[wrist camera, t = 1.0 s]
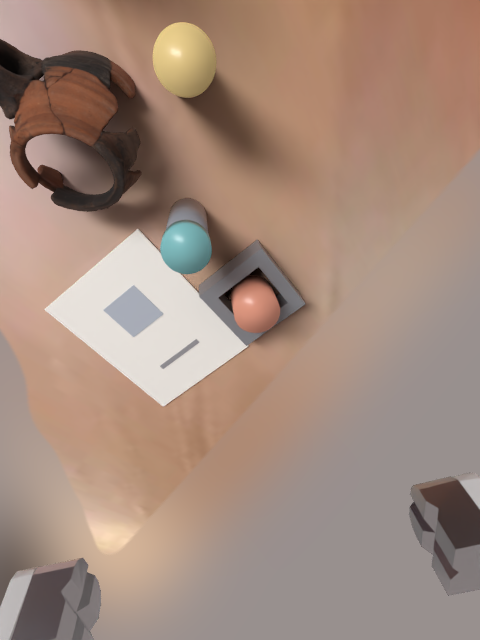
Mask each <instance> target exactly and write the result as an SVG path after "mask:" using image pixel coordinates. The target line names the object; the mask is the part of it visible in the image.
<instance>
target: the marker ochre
mask: <svg viewBox="0 0 480 640" xmlns="http://www.w3.org/2000/svg"><path fill="white" fill-rule="evenodd" d="M153 65H154V69H155V72H156V75H157V77H158V79H159V81H160V82H161V84H162V85H163V86H164V87H165V88H166V89H167V90H168V91H170V92H171V93H173V94H175V95H177V96H179V97H183V98H193V97H196V96H198V95H200V94H201V93H203V92H204V91H205V90H206V89H207V88H208V86H209V85H210V84H211V82H212V80H213V78H214V75H215V71H216V55H215V50H214V47H213V45H212V43H211V41H210V39H209V38H208V36H207V35H206V34H205V33H204V32H203V31H202V30H201V29H200V28H198V27H197V26H195V25H193V24H190V23H185V22H179V23H174V24H172V25H170V26H168V27H166V28H165V29H164V30H163V31H162V32H161V33H160V35H159V36H158V38H157V40H156V42H155V45H154V49H153Z"/></svg>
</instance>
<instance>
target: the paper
mask: <svg viewBox="0 0 480 640" xmlns="http://www.w3.org/2000/svg"><path fill="white" fill-rule="evenodd" d="M44 310H45V311H47V312H48V313H49V314H50V315H52V316H53V317H54V318H55V319H56V320H58V321H59V322H60V323H61V324H63V325H64V326H65V327H66V328H68V329H69V330H70V331H71V332H72V333H74V334H75V335H76V336H77V337H79V338H80V339H81V340H82V341H83V342H85V343H86V344H87V345H88V346H90V347H91V348H92V349H93V350H94V351H96V352H97V353H98V354H99V355H101V356H102V357H103V358H104V359H106V360H107V361H108V362H109V363H110V364H112V365H113V366H114V367H115V368H117V369H118V370H119V371H120V372H121V373H123V374H124V375H125V376H126V377H128V378H129V379H130V380H131V381H133V382H134V383H135V384H136V385H137V386H139V387H140V388H141V389H142V390H144V391H145V392H146V393H147V394H148V395H150V396H151V397H152V398H153V399H155V400H156V401H157V402H158V403H159V404H161V405H162V406H163V407H164V406H165V405H166V404H168V403H169V402H171V401H172V400H173V399H175V398H176V397H178V396H179V395H180V394H182V393H183V392H185V391H186V390H187V389H189V388H190V387H192V386H193V385H195V384H196V383H197V382H199V381H200V380H202V379H203V378H204V377H206V376H207V375H209V374H210V373H211V372H213V371H214V370H216V369H217V368H218V367H220V366H221V365H223V364H224V363H226V362H227V361H228V360H230V359H231V358H233V357H234V356H235V355H237V354H238V353H240V352H241V351H242V350H244V349H245V348H247V347H248V346H249V345H247V346H246V345H245V344H244V343H243V342H242V341H241V340H240V339H239V338H238V337H237V336H236V335H235V334H234V333H233V332H232V331H231V329H230V328H229V327H228V326H227V325H226V324H225V323H224V322H223V321H222V320H221V319H220V318H219V317H218V316H217V315H216V314H215V313H214V312H213V311H212V310H211V308H210V307H209V306H208V305H207V304H206V303H205V302H204V301H203V300H202V299H201V298H200V297H199V292H198V291H197V290H196V289H195V288H194V287H193V286H192V285H191V284H190V283H189V282H188V281H187V280H186V279H185V277H184V276H183V275H182V274H181V273H178V272H175V271H173V270H172V269H170V268H169V267H168V266H167V265H166V264H165V262H164V261H163V258H162V256H161V252H160V251H159V250H158V249H157V248H156V247H155V246H154V245H153V244H152V243H151V242H150V240H149V239H148V238H147V237H146V236H145V235H144V234H143V233H142V232H141V231H140V230H139V229H137V230H136V231H134V232H133V233H132V234H131V235H130V236H129V237H127V238H126V239H125V240H124V241H123V242H122V243H121V244H119V245H118V246H117V247H116V248H115V249H114V250H112V251H111V252H110V253H109V254H108V255H107V256H105V257H104V258H103V259H102V260H101V261H100V262H99V263H97V264H96V265H95V266H94V267H93V268H92V269H90V270H89V271H88V272H87V273H86V274H85V275H83V276H82V277H81V278H80V279H79V280H78V281H77V282H75V283H74V284H73V285H72V286H71V287H70V288H68V289H67V290H66V291H65V292H64V293H63V294H62V295H60V296H59V297H58V298H57V299H56V300H55V301H53V302H52V303H51V304H50V305H49V306H48V307H46V308H45V309H44Z"/></svg>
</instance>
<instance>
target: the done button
mask: <svg viewBox="0 0 480 640" xmlns="http://www.w3.org/2000/svg"><path fill="white" fill-rule="evenodd" d="M231 302H232V307H233V313H234V318H235V321H236V323H237V325H238V326H239V327H240V328H241V329H243V330H245V331H247V332H250V333H261V332H264V331H267V330H269V329H270V328H272V327H273V326H274V325H275V324H276V322H277V321H278V319H279V316H280V306H279V303H278V301H277V298H276V296H275V294H274V291H273V289H272V287H271V285H270V283H269V282H268V281H267V280H266V279H264V278H263V277H260V276H255V275H251V276H246V277H245V278H243V279H242V280H241V281H240V282H238V283H237V284H236V285H234V286H233V288H232V291H231Z"/></svg>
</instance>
